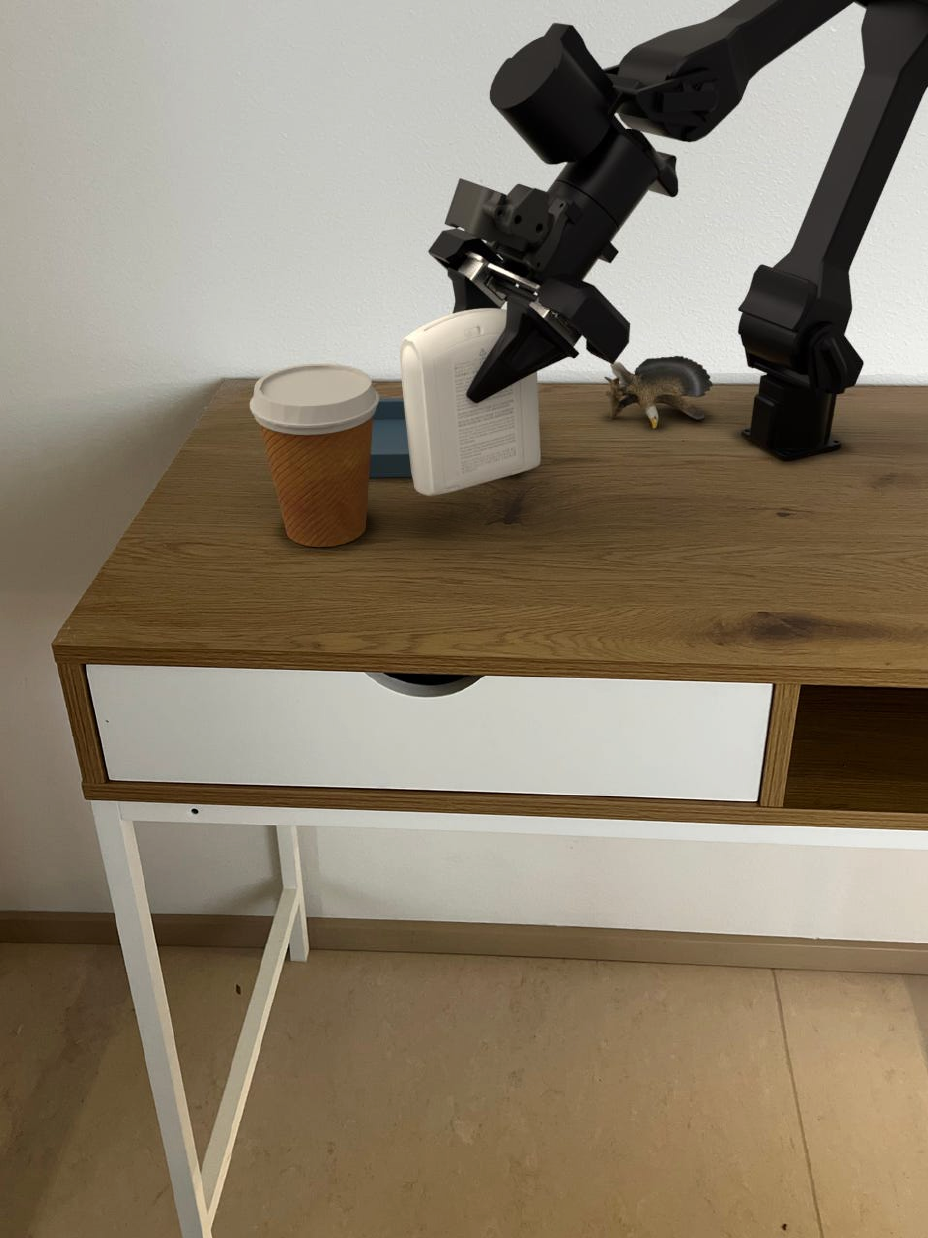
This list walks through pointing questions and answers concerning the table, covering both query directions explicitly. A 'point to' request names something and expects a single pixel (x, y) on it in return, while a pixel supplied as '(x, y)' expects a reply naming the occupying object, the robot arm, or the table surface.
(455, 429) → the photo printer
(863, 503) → the table surface
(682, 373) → the eagle figurine
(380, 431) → the tray
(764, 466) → the table surface
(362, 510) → the disposable coffee cup
